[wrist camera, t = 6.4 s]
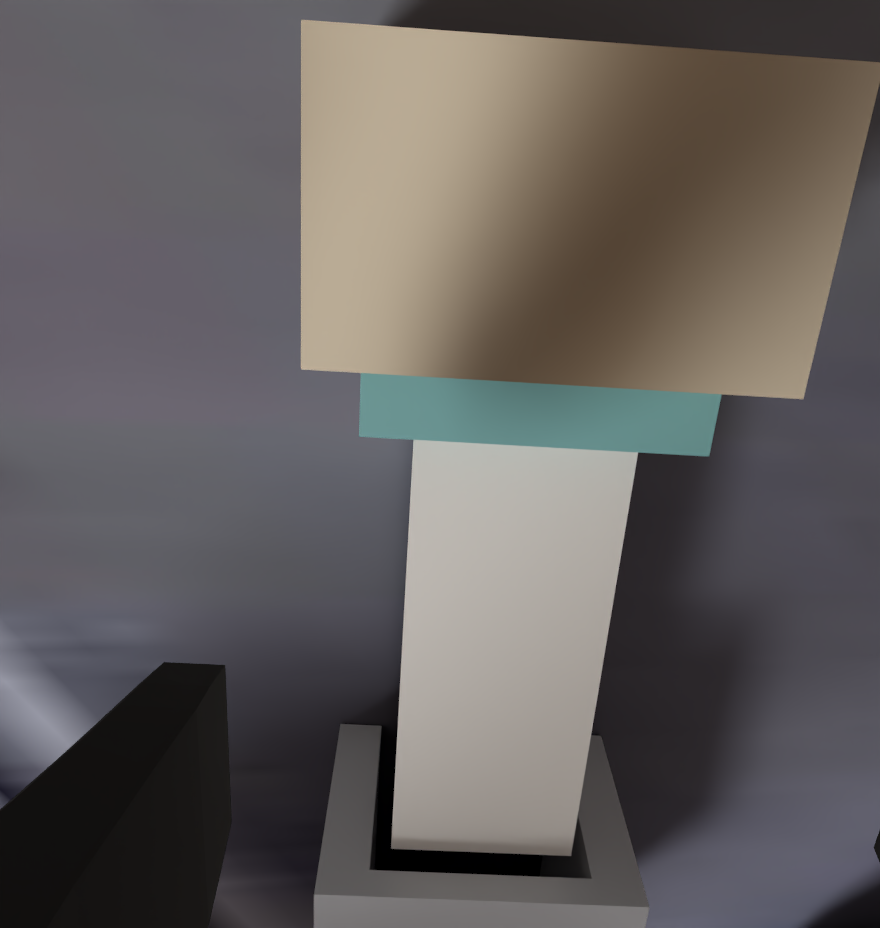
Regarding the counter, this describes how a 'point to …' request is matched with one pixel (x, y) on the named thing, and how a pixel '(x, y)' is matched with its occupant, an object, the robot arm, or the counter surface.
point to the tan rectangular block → (571, 208)
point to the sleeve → (472, 895)
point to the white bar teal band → (511, 593)
